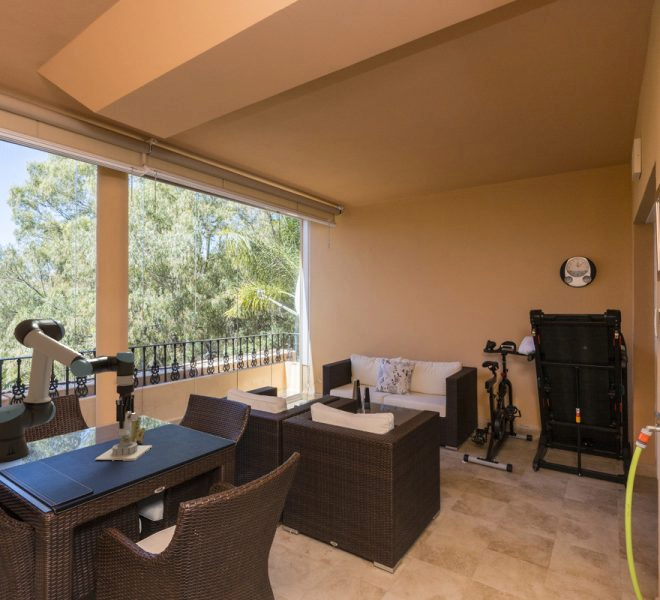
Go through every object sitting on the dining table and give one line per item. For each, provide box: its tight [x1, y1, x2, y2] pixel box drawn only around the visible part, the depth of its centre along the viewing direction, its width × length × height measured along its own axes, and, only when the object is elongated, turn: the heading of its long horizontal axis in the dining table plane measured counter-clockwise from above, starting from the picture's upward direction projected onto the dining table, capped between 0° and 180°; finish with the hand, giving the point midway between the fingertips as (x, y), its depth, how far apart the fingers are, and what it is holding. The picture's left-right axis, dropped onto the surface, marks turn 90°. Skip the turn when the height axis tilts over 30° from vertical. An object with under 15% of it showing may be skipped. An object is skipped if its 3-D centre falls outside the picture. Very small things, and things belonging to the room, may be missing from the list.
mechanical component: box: [118, 416, 147, 444], centre depth 210 cm, size 8×17×20 cm, turn 175°
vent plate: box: [94, 442, 153, 462], centre depth 195 cm, size 18×18×4 cm
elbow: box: [119, 411, 139, 439], centre depth 195 cm, size 8×5×12 cm, turn 90°
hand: (125, 433), depth 195 cm, fingers closed on elbow, 5 cm apart
